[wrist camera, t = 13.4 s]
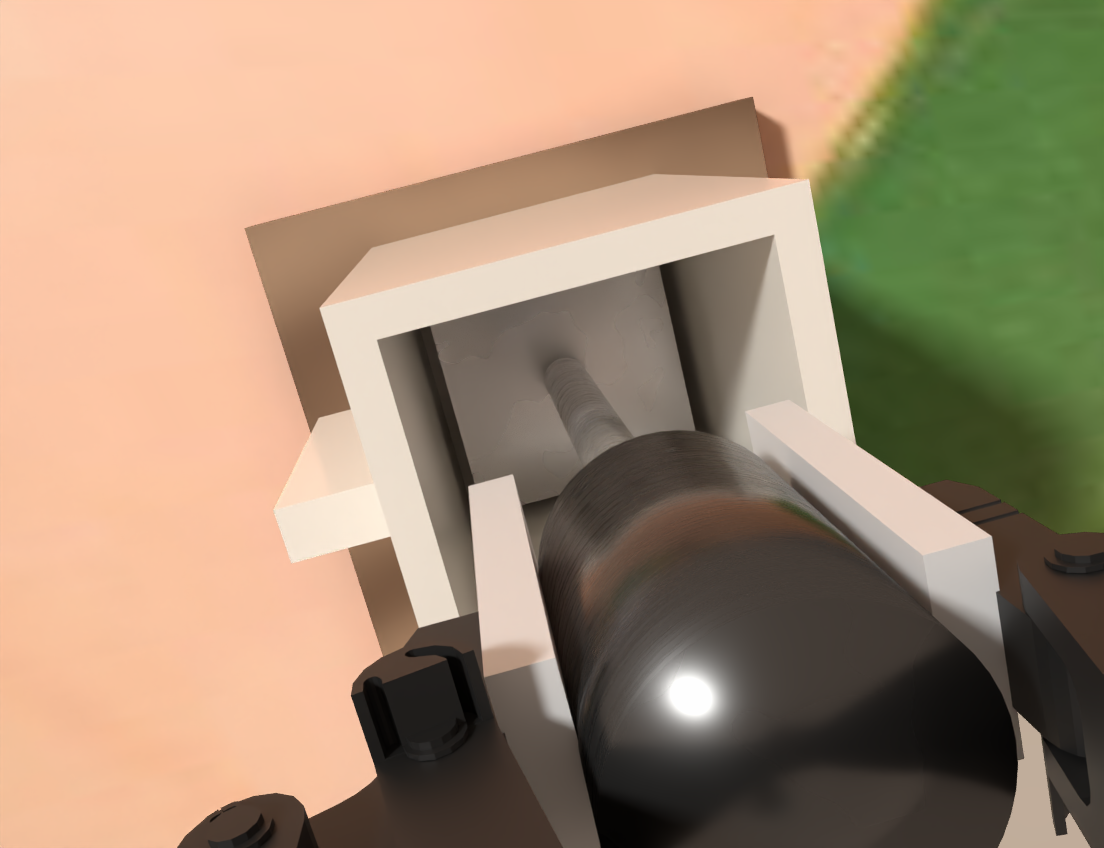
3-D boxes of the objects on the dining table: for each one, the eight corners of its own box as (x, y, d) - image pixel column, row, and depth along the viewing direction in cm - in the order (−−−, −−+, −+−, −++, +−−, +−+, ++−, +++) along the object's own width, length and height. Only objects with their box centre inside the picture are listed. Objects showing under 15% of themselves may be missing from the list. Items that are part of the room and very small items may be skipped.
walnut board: (866, 761, 40) (882, 784, 38) (462, 877, 39) (463, 904, 38) (739, 99, 33) (752, 96, 32) (253, 225, 33) (244, 228, 31)
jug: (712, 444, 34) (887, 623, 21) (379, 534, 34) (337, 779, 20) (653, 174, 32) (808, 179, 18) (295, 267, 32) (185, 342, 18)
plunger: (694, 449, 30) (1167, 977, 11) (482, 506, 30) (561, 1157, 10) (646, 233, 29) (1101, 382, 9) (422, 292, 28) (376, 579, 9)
